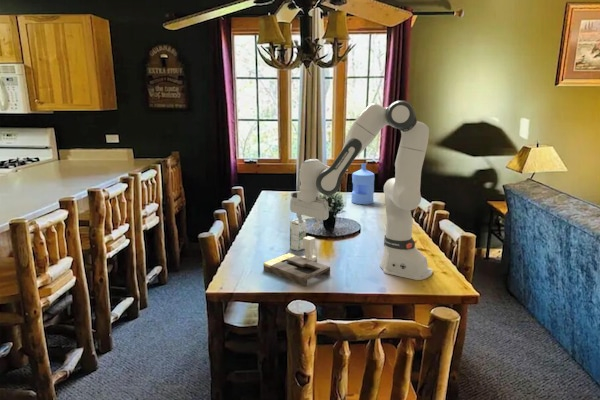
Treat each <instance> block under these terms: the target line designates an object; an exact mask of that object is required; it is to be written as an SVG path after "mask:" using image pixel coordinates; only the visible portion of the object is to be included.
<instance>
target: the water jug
mask: <svg viewBox="0 0 600 400" xmlns="http://www.w3.org/2000/svg"><path fill="white" fill-rule="evenodd" d="M366 167H367V163H364V162H363V163H361V168H360V169H359V170H356V171H354V172H353V173H352V174H351V178H352V179H351V180H352V181H351V183H352V192H351V200H350V201H351V203H353V204H356V205H360V204H363V206H364V205H365V206H367V205H372V204H373V203H374V192H375V173H373V172H372V171H370V170H368V169H367V168H366Z"/></svg>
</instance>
